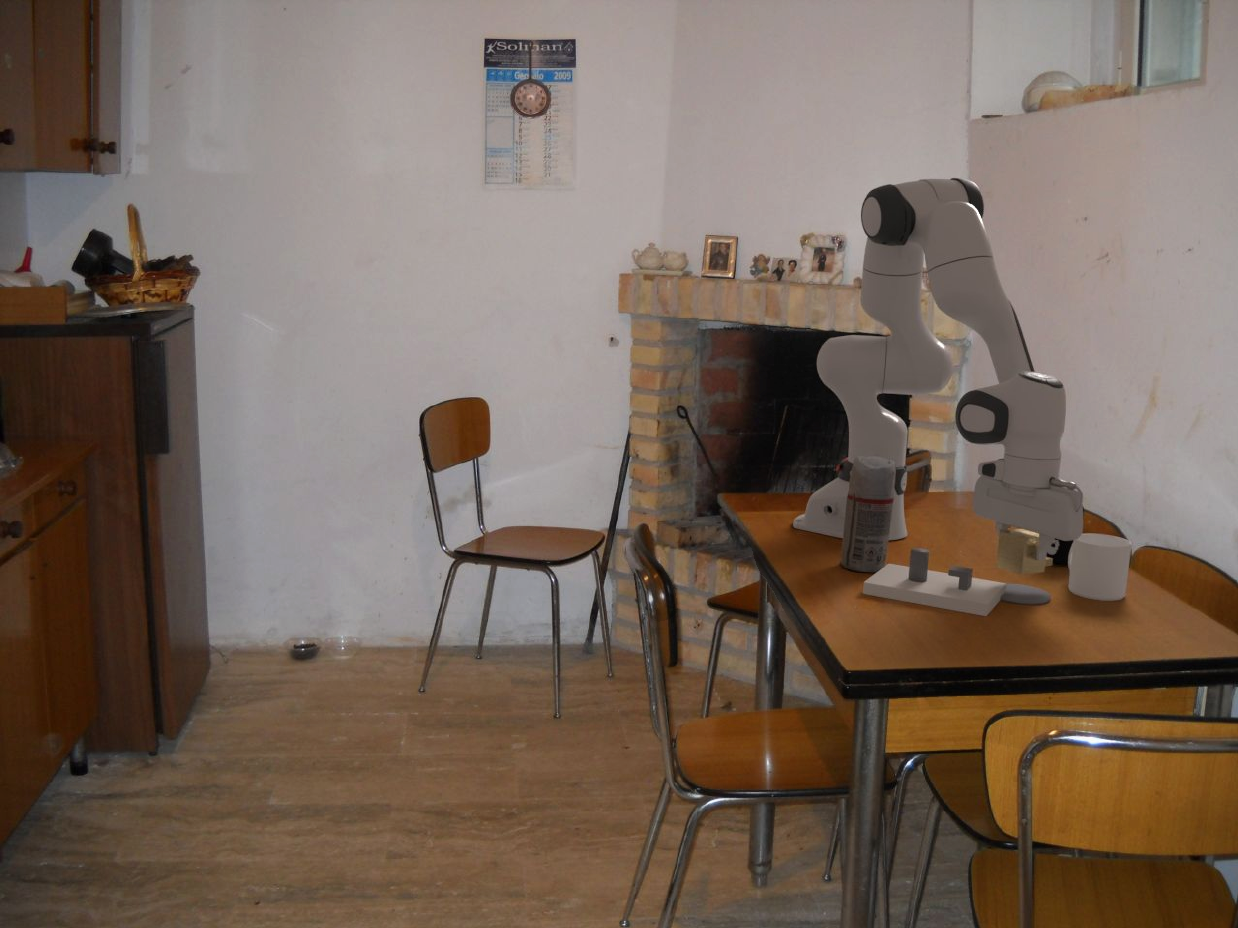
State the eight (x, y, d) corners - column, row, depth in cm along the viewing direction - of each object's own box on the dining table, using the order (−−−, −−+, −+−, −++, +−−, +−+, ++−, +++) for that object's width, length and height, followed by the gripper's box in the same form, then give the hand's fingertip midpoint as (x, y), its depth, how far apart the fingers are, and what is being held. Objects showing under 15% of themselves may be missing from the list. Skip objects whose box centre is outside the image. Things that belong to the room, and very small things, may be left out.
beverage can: (1080, 568, 219) (1088, 504, 217) (1043, 565, 220) (1050, 501, 218) (1074, 559, 225) (1082, 496, 223) (1038, 556, 227) (1045, 494, 224)
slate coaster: (981, 597, 199) (981, 593, 198) (994, 583, 207) (995, 579, 207) (1044, 608, 194) (1044, 604, 194) (1055, 593, 202) (1055, 590, 202)
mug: (1135, 601, 200) (1142, 547, 198) (1084, 601, 199) (1090, 546, 197) (1099, 580, 212) (1105, 529, 210) (1050, 580, 211) (1056, 528, 209)
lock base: (862, 593, 198) (866, 552, 197) (887, 574, 210) (891, 535, 209) (986, 616, 189) (990, 573, 187) (1005, 594, 201) (1009, 554, 199)
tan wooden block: (1021, 575, 196) (1025, 538, 194) (996, 566, 200) (999, 531, 199) (1060, 569, 200) (1064, 533, 199) (1034, 561, 205) (1038, 526, 204)
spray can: (890, 564, 217) (899, 455, 213) (885, 576, 209) (894, 463, 205) (843, 558, 219) (851, 451, 215) (836, 570, 212) (844, 458, 208)
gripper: (1096, 483, 189) (1087, 568, 192) (996, 460, 206) (989, 538, 209) (1069, 486, 186) (1060, 572, 188) (970, 462, 203) (962, 542, 206)
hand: (1022, 554), depth 199 cm, fingers closed on tan wooden block, 5 cm apart
